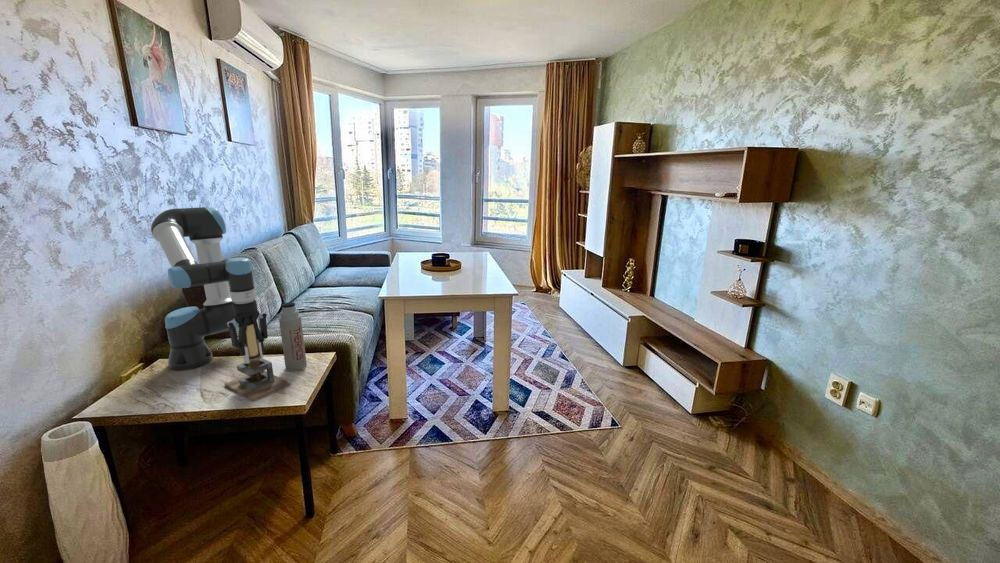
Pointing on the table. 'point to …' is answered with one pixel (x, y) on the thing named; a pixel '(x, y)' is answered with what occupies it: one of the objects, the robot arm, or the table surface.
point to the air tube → (252, 351)
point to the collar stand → (259, 387)
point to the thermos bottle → (292, 337)
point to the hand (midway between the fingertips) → (253, 359)
